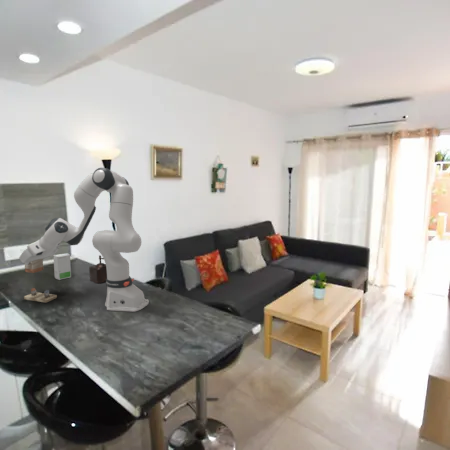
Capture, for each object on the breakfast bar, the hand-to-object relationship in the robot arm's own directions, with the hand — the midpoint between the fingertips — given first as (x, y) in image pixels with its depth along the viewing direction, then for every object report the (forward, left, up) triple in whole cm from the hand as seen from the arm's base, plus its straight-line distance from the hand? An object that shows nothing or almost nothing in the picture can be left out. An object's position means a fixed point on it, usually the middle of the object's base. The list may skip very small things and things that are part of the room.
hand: (32, 262), depth 162 cm
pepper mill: (-18, -36, -20) cm, 44 cm away
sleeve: (-1, 0, -5) cm, 5 cm away
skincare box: (+10, -30, -20) cm, 37 cm away
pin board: (-6, +2, -19) cm, 20 cm away
